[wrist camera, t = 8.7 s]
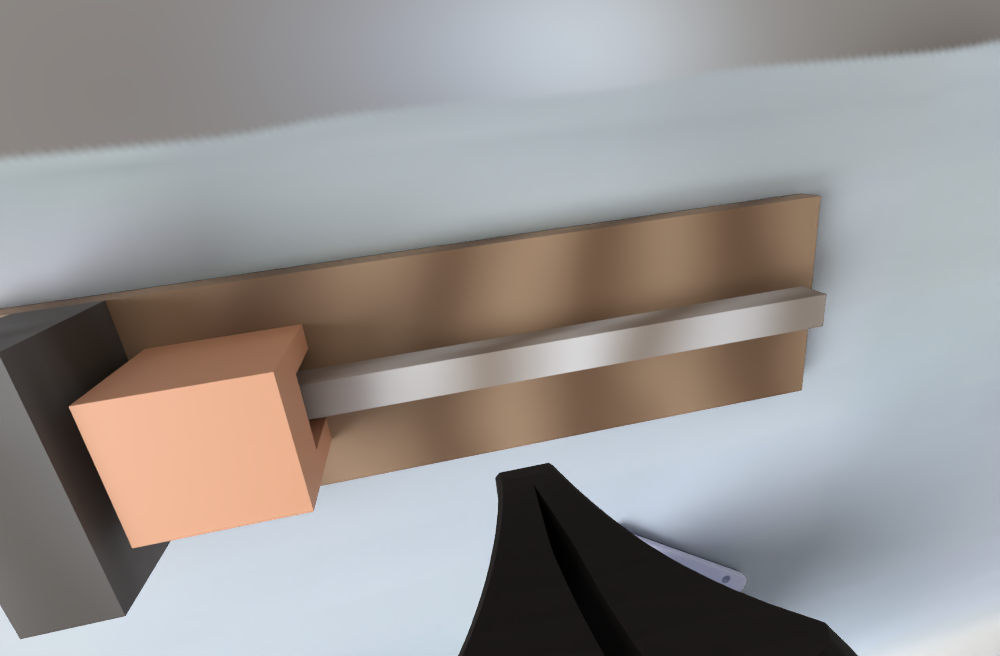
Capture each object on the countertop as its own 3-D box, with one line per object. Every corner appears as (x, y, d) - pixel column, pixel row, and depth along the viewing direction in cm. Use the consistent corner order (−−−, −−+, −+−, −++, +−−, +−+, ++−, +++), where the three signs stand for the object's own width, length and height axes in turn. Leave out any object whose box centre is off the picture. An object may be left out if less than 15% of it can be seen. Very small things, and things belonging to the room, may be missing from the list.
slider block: (301, 324, 19) (273, 371, 15) (331, 439, 21) (313, 511, 17) (145, 349, 18) (68, 406, 14) (188, 466, 20) (132, 548, 16)
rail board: (799, 193, 22) (938, 208, 17) (784, 379, 25) (896, 446, 20) (-14, 311, 18) (-207, 384, 12) (84, 516, 21) (-35, 651, 16)
